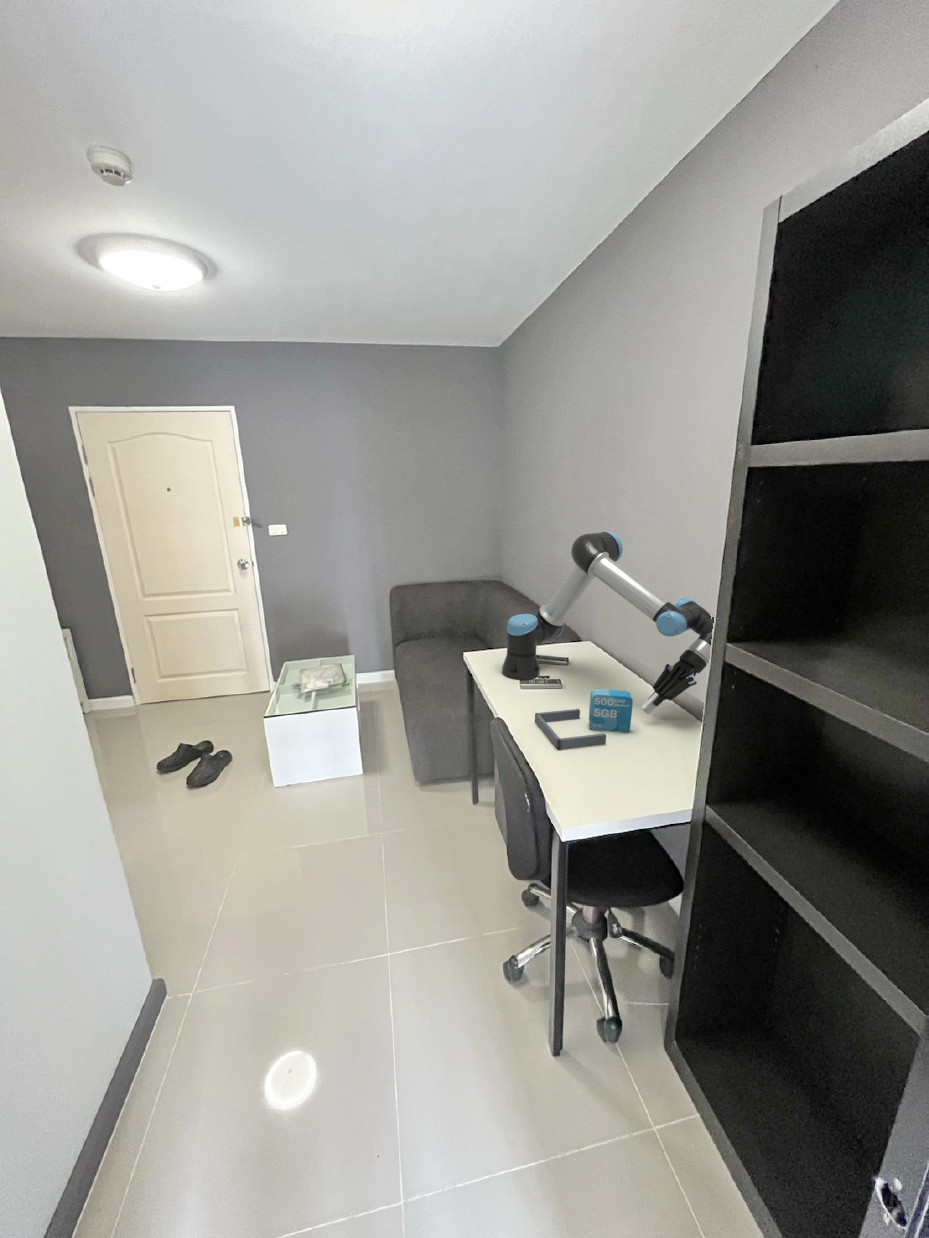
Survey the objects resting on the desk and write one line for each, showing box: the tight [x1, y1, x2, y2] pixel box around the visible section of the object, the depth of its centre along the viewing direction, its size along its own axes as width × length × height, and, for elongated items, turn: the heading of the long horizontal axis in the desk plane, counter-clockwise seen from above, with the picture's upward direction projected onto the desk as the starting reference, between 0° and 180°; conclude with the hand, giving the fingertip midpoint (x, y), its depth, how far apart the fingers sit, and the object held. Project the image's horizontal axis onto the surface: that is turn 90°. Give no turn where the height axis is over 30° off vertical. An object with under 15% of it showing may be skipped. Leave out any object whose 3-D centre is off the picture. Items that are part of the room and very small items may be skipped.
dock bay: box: [534, 708, 607, 751], centre depth 148 cm, size 18×15×3 cm
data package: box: [588, 688, 634, 733], centre depth 149 cm, size 12×4×12 cm, turn 81°
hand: (644, 710), depth 152 cm, fingers closed
